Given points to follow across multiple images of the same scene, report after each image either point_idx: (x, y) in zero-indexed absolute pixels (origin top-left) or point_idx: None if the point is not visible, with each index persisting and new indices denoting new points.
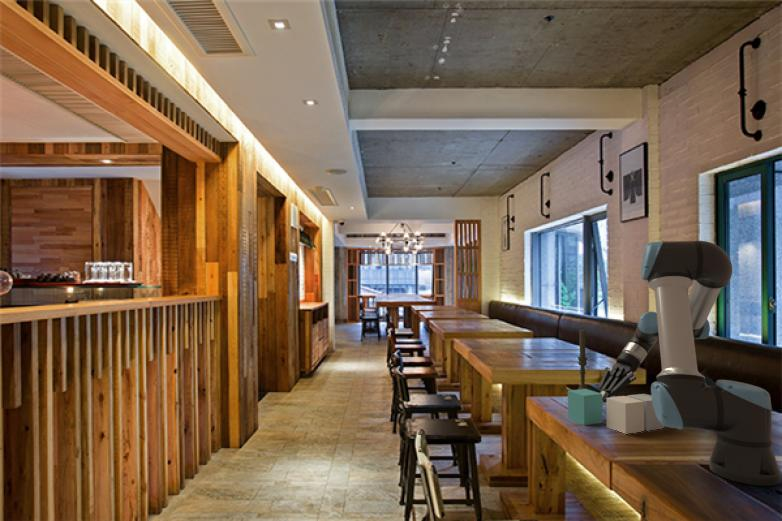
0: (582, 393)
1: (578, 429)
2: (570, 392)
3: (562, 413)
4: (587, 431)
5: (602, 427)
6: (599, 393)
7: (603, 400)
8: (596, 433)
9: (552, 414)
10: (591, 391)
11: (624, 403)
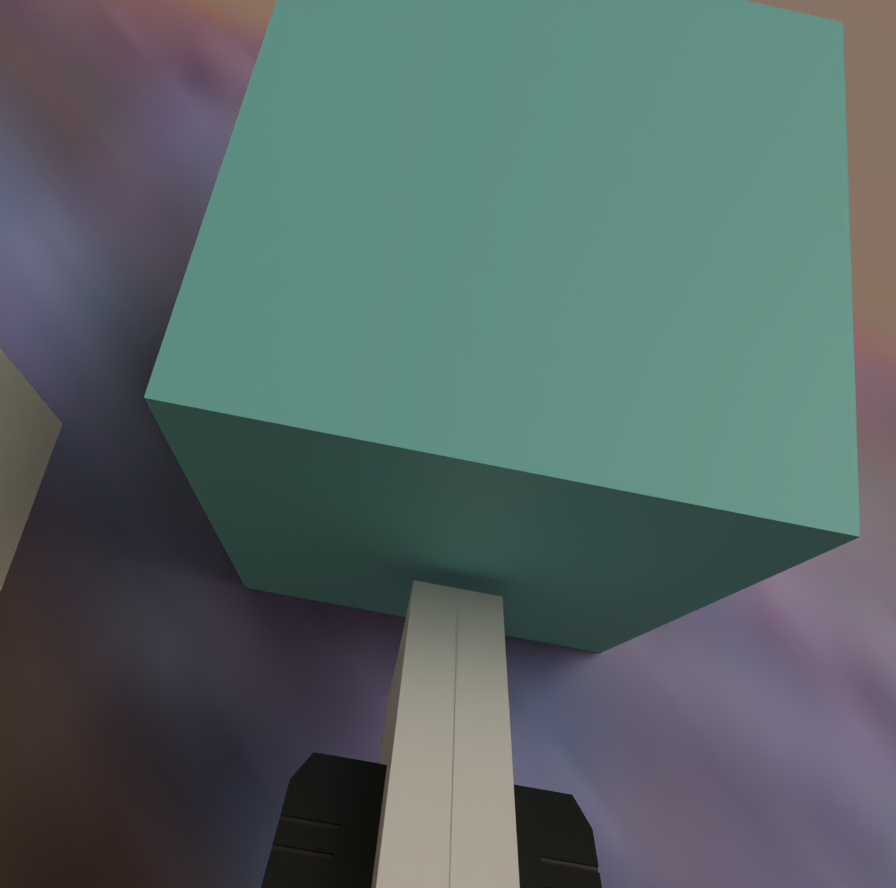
0: (481, 40)
1: None
2: (740, 18)
3: (860, 492)
4: (141, 116)
5: (108, 385)
6: (216, 363)
7: (341, 776)
8: (25, 130)
9: (864, 344)
10: (521, 392)
11: None
